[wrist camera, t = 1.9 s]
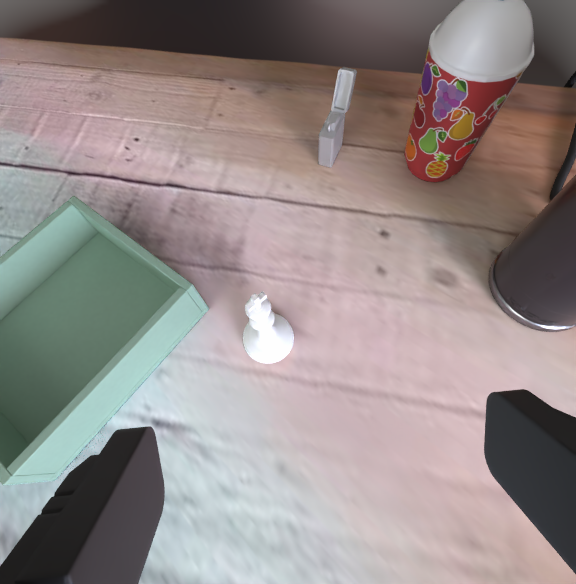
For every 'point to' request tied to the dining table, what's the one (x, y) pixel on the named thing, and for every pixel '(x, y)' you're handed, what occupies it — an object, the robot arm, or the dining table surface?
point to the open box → (79, 335)
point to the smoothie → (466, 82)
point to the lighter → (336, 118)
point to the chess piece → (266, 331)
